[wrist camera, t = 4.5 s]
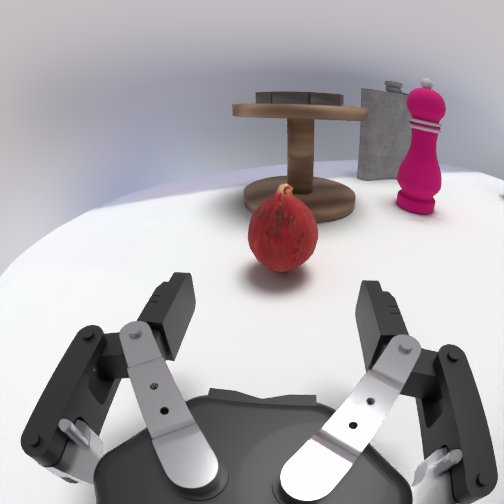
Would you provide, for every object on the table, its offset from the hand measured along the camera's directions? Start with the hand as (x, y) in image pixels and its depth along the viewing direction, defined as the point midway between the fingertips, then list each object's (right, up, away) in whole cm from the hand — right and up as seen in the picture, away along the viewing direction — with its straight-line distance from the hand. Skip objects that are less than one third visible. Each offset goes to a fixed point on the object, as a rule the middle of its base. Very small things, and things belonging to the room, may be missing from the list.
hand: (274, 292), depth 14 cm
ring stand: (+6, +9, +28) cm, 31 cm away
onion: (+2, 0, +13) cm, 13 cm away
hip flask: (+27, +17, +41) cm, 52 cm away
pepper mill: (+24, +9, +26) cm, 37 cm away
